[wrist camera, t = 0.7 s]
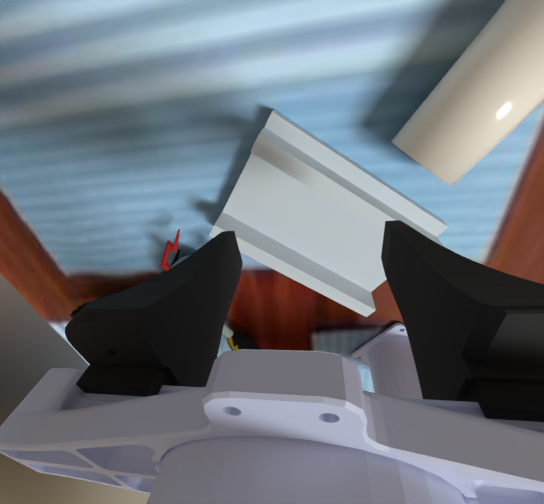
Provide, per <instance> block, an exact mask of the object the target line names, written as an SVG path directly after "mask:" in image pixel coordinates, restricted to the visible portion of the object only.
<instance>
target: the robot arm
mask: <svg viewBox="0 0 544 504" xmlns="http://www.w3.org/2000/svg"><path fill="white" fill-rule="evenodd" d="M381 260H382V264H383V268H384V272H385V276H386V278H387V281H388V283H389V286H390V288H391V291H392V293H393V296H394V298H395V301H396V303H397V305H398V308H399V310H400V313H401V315H402V318H403V321H404V324H405V325H403V324H401V323H395V324H394V325H392V326H391V327H389V328H388V329H386V330H385V331H384V332H382V333H381V334H379V335H378V336H376V337H375V338H373V339H372V340H371V341H369V342H368V343H366V344H365V345H363V346H362V347H360V348H359V349H357V350H356V351H355V352H353V353H352V357H353V358H354V359H356V360H359V361H361V362H363V363H365V364H367V365H369V366H370V371H371V376H372V381H373V386H374V391H375V393H372V392H368V391H363V389H362V382H361V376H360V373H359V371H358V368H357V366H356V364H354V363H353V362H351V361H350V360H348V359H346V358H345V357H343V356H341V355H340V354H335V353H329V352H324V351H297V350H255V349H239V350H233V351H227V352H224V353H223V354H221V355H220V356H219V357H218V358H217V354H218V349H219V345H220V340H221V335H222V331H223V327H224V322H225V319H226V316H227V313H228V310H229V307H230V304H231V302H232V299H233V296H234V293H235V291H236V288H237V285H238V282H239V279H240V274H241V269H242V259H241V255H240V251H239V247H238V243H237V240H236V236H235V232H234V231H223V232H221V233H219V234H218V235H217V236H215V237H214V238H213V239H211V240H210V241H209V242H207V243H206V244H205V245H204V246H202V247H201V248H200V249H198V250H197V251H196V252H194V253H193V254H192V255H190V256H189V257H187V258H186V259H184V260H183V261H182V262H180V263H178V264H177V265H175V266H174V267H172V268H170V269H169V270H167V271H165V272H163V273H161V274H159V275H157V276H155V277H153V278H151V279H149V280H147V281H145V282H143V283H141V284H139V285H136V286H134V287H131V288H129V289H126V290H124V291H121V292H118V293H116V294H113V295H110V296H106V297H103V298H100V299H97V300H94V301H91V302H88V303H87V304H86V305H85V306H84V307H83V308H82V309H81V310H80V312H79V313H78V314H77V315H76V316H75V317H74V318H73V319H72V320H71V321H70V322H69V323H68V324H67V326H66V327H65V334H66V337H67V339H68V341H69V342H70V343H71V345H72V346H73V347H74V348H75V349H76V350H77V351H78V352H79V353H80V354H81V355H82V356H83V358H84V359H85V360H86V361H87V362H88V363H89V364H90V365H89V367H88V368H87V369H86V371H85V372H83V371H80V370H77V369H65V368H52V369H50V370H49V371H48V372H47V373H46V375H45V376H44V377H43V378H42V379H41V380H40V381H39V383H38V384H37V385H36V386H35V387H34V388H33V390H32V391H31V392H30V393H29V394H28V395H27V396H26V398H25V399H24V400H23V401H22V402H21V403H20V405H19V406H18V407H17V408H16V409H15V410H14V411H13V413H12V414H11V415H10V416H9V417H8V419H7V420H6V421H5V422H4V423H3V424H2V425H1V427H0V453H2V454H4V455H6V456H8V457H10V458H12V459H14V460H15V461H17V462H20V463H21V464H23V465H25V466H27V467H29V468H31V469H33V470H35V471H37V472H40V473H45V474H52V475H59V476H65V477H71V478H76V479H82V480H87V481H92V482H97V483H101V484H106V485H110V486H115V487H120V488H124V489H129V490H133V491H138V492H142V493H147V494H150V496H149V499H148V502H147V504H544V284H540V283H536V282H533V281H529V280H526V279H522V278H519V277H516V276H513V275H509V274H506V273H503V272H501V271H498V270H495V269H492V268H489V267H487V266H484V265H482V264H479V263H477V262H474V261H472V260H470V259H468V258H465V257H463V256H461V255H459V254H457V253H455V252H453V251H451V250H449V249H447V248H445V247H443V246H441V245H440V244H438V243H436V242H434V241H433V240H431V239H429V238H428V237H426V236H425V235H423V234H421V233H420V232H418V231H417V230H415V229H414V228H412V227H410V226H409V225H407V224H406V223H404V222H402V221H400V220H394V221H385V228H384V236H383V244H382V253H381Z"/></svg>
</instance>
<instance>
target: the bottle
mask: <svg viewBox="0 0 544 504" xmlns="http://www.w3.org/2000/svg"><path fill="white" fill-rule="evenodd" d="M542 102H544V0H506V1H505V2H504V3H503V4H502V6H501V7H500V8H499V9H498V11H497V12H496V13H495V14H494V15H493V17H492V18H491V19H490V20H489V22H488V23H487V24H486V25H485V27H484V28H483V29H482V30H481V31H480V33H479V34H478V35H477V36H476V38H475V39H474V40H473V41H472V43H471V44H470V45H469V46H468V47H467V49H466V50H465V51H464V52H463V54H462V55H461V56H460V57H459V59H458V60H457V61H456V62H455V63H454V65H453V66H452V67H451V68H450V70H449V71H448V72H447V73H446V75H445V76H444V77H443V78H442V79H441V81H440V82H439V83H438V84H437V86H436V87H435V88H434V89H433V91H432V92H431V93H430V94H429V95H428V97H427V98H426V99H425V100H424V102H423V103H422V104H421V105H420V107H419V108H418V109H417V110H416V111H415V113H414V114H413V115H412V116H411V118H410V119H409V120H408V121H407V123H406V124H405V125H404V126H403V127H402V129H401V130H400V131H399V132H398V134H397V135H396V136H395V137H394V139H393V140H392V141H391V142H392V143H393V144H394V145H396V146H397V147H398V148H399V149H400V150H402V151H403V152H404V153H406V154H407V155H408V156H410V157H411V158H412V159H414V160H415V161H416V162H418V163H419V164H420V165H422V166H423V167H424V168H426V169H427V170H429V171H430V172H431V173H433V174H434V175H436V176H437V177H438V178H440V179H441V180H443V181H444V182H446V183H447V184H449V185H451V186H453V185H455V184H456V183H457V182H458V181H459V180H460V179H461V178H462V177H463V176H464V175H465V174H466V173H467V172H468V171H470V170H471V169H472V168H473V167H474V166H475V165H476V164H477V163H478V162H479V161H480V160H481V159H482V158H483V157H485V156H486V155H487V154H488V153H489V152H490V151H491V150H492V149H493V148H494V147H495V146H496V145H497V144H498V143H500V142H501V141H502V140H503V139H504V138H505V137H506V136H507V135H508V134H509V133H510V132H511V131H512V130H513V129H515V128H516V127H517V126H518V125H519V124H520V123H521V122H522V121H523V120H524V119H525V118H526V117H527V116H529V115H530V114H531V113H532V112H533V111H534V110H535V109H536V108H537V107H538V106H539V105H540V104H541V103H542Z"/></svg>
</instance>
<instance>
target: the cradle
mask: <svg viewBox="0 0 544 504" xmlns="http://www.w3.org/2000/svg"><path fill="white" fill-rule="evenodd" d="M250 152H252V153H251V155H250V157H249V159H248V161H247V163H246V165H245V167H244V169H243V171H242V173H241V175H240V177H239V179H238V181H237V183H236V185H235V187H234V189H233V191H232V193H231V195H230V197H229V199H228V201H227V203H226V205H225V207H224V209H223V212H222V213H221V215H220V216H219V218H218V220H217V221H216V223H215V225H214V226H213V228H212V231H211V233H210V235H209V236H210V237H212V238H214V237H215V236H217V235H218V234H219V233H221V232H223V231H234V232H235V236H236V240H237V243H238V247H239V251H240V252H241V253H243V254H245V255H247V256H249V257H251V258H253V259H255V260H257V261H259V262H260V263H262V264H264V265H266V266H268V267H270V268H272V269H274V270H276V271H278V272H280V273H282V274H284V275H286V276H288V277H290V278H291V279H293V280H295V281H297V282H299V283H301V284H303V285H305V286H307V287H309V288H311V289H313V290H315V291H317V292H319V293H321V294H323V295H324V296H326V297H328V298H330V299H332V300H334V301H336V302H338V303H340V304H342V305H344V306H346V307H348V308H350V309H352V310H354V311H356V312H357V313H359V314H361V315H363V316H365V317H367V316H369V315H370V314H371V313H373V312H374V311H375V310H376V309H375V305H374V302H373V298H372V294H371V292H372V291H373V290H374V289H375V288H376V287H378V286H379V285H380V284H381V283H382V282H384V281H385V280H386V279H387V278H386V276H385V272H384V268H383V264H382V260H381V253H382V244H383V236H384V228H385V221H394V220H400V221H402V222H404V223H406V224H407V225H409V226H410V227H412V228H414V229H415V230H417V231H418V232H420V233H421V234H423V235H425V236H426V237H428V238H429V239H431V240H433V241H434V242H436V243H438V244H440V245H441V246H443V245H442V244H441V242H440V241H439V240H438V238H437V236H438V235H440V234H441V233H442V232H443V231H444V230H446V229H447V228H448V226H447V225H446V224H445V223H444V221H443V220H442V219H440V218H439V217H437V216H436V215H434V214H433V213H431V212H429V211H428V210H426V209H425V208H423V207H422V206H420V205H419V204H417V203H416V202H414V201H413V200H411V199H410V198H408V197H407V196H405V195H404V194H402V193H401V192H399V191H398V190H396V189H395V188H393V187H391V186H390V185H388V184H387V183H385V182H384V181H382V180H381V179H379V178H378V177H376V176H375V175H373V174H372V173H370V172H369V171H367V170H366V169H364V168H363V167H361V166H360V165H358V164H357V163H355V162H354V161H352V160H350V159H349V158H347V157H346V156H344V155H343V154H341V153H340V152H338V151H337V150H335V149H334V148H332V147H331V146H329V145H328V144H326V143H325V142H323V141H322V140H320V139H319V138H317V137H316V136H314V135H312V134H311V133H309V132H308V131H306V130H305V129H303V128H302V127H300V126H299V125H297V124H296V123H294V122H293V121H291V120H290V119H288V118H287V117H285V116H284V115H282V114H281V113H279V112H278V111H276V110H275V109H274V110H273V111H272V113H271V115H270V117H269V119H268V121H267V123H266V125H265V127H264V128H263V129H262V131H261V132H260V133H259V135H258V137H257V139H256V141H255V143H254V145H253V147H252V149H251V151H250ZM443 247H444V246H443Z"/></svg>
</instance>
